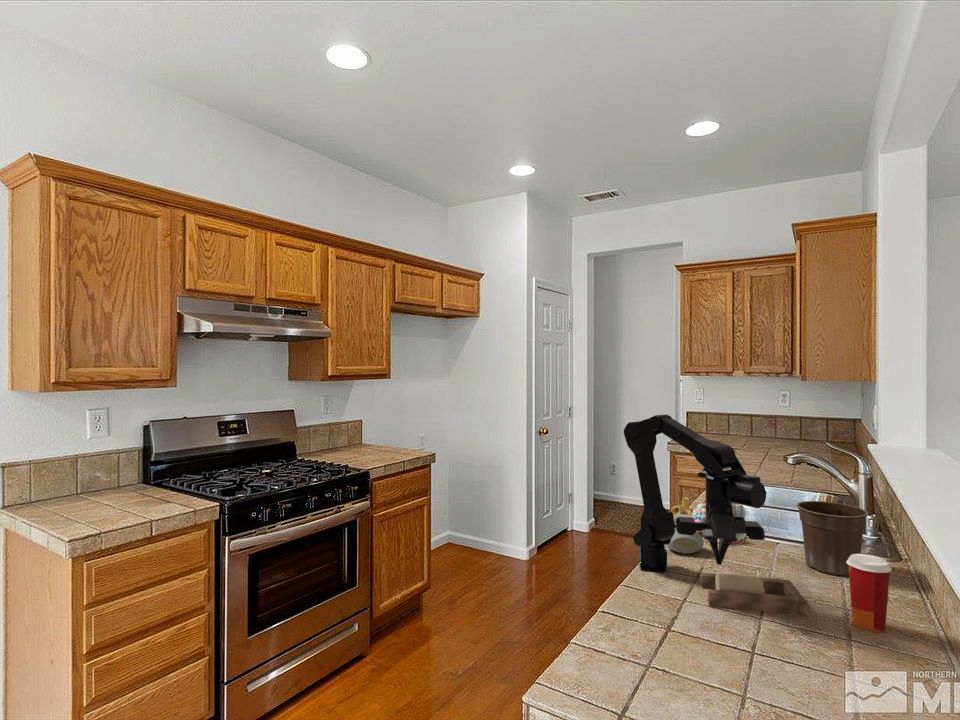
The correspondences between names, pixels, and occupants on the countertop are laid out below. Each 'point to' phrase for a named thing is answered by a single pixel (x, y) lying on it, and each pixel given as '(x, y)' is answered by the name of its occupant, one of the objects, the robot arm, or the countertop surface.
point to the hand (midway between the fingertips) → (718, 564)
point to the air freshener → (685, 540)
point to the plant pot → (831, 534)
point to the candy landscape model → (697, 515)
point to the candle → (739, 583)
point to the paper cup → (869, 591)
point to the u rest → (758, 596)
